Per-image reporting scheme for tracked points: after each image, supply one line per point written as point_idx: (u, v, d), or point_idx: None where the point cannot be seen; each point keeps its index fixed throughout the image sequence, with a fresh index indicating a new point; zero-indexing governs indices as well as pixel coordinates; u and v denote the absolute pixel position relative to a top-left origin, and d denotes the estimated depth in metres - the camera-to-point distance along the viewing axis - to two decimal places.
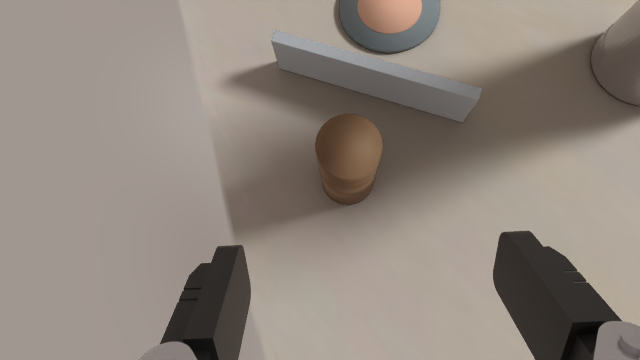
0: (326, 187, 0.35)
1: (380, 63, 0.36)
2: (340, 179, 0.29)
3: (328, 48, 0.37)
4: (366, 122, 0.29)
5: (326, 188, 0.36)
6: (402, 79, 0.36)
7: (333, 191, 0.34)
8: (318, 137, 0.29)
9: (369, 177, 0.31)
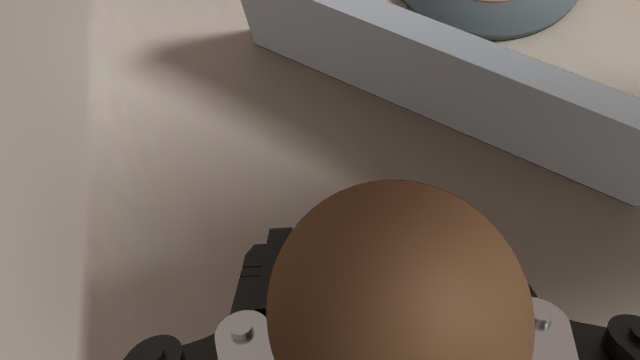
0: None
1: (482, 47, 0.15)
2: None
3: None
4: (472, 223, 0.08)
5: None
6: (534, 92, 0.14)
7: None
8: (286, 256, 0.08)
9: None
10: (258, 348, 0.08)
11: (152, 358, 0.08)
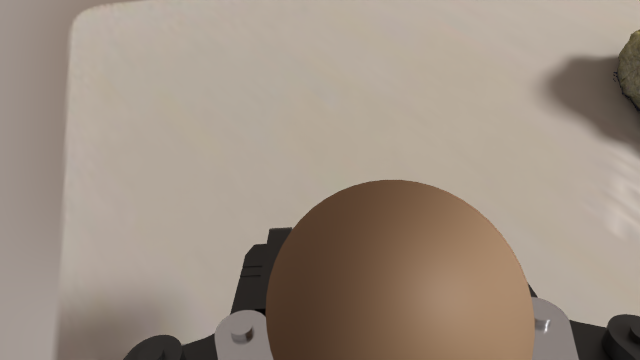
0: None
1: None
2: None
3: None
4: (472, 223, 0.08)
5: None
6: None
7: None
8: (286, 256, 0.08)
9: None
10: (258, 348, 0.08)
11: (152, 358, 0.08)
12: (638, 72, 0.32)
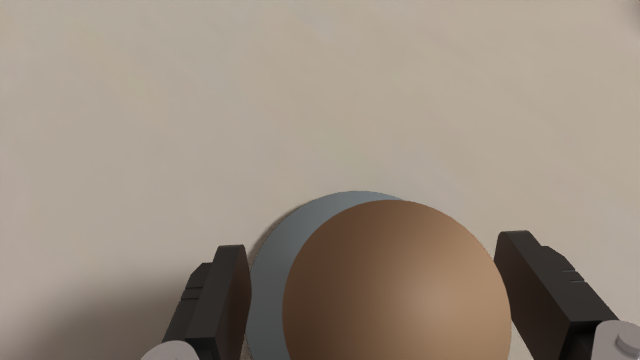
0: None
1: None
2: None
3: None
4: (460, 238, 0.09)
5: None
6: None
7: None
8: (299, 265, 0.09)
9: None
10: None
11: None
12: None
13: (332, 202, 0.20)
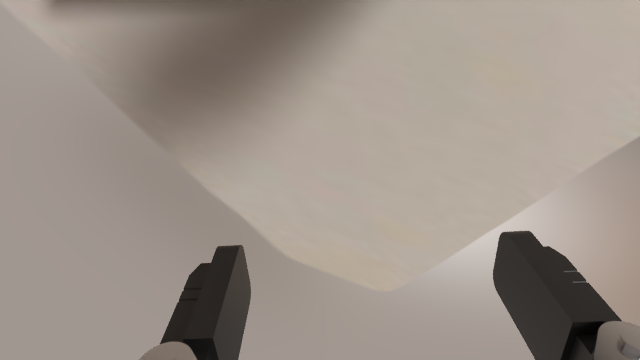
0: None
1: None
2: None
3: None
4: None
5: None
6: None
7: None
8: None
9: None
10: None
11: None
12: None
13: None
